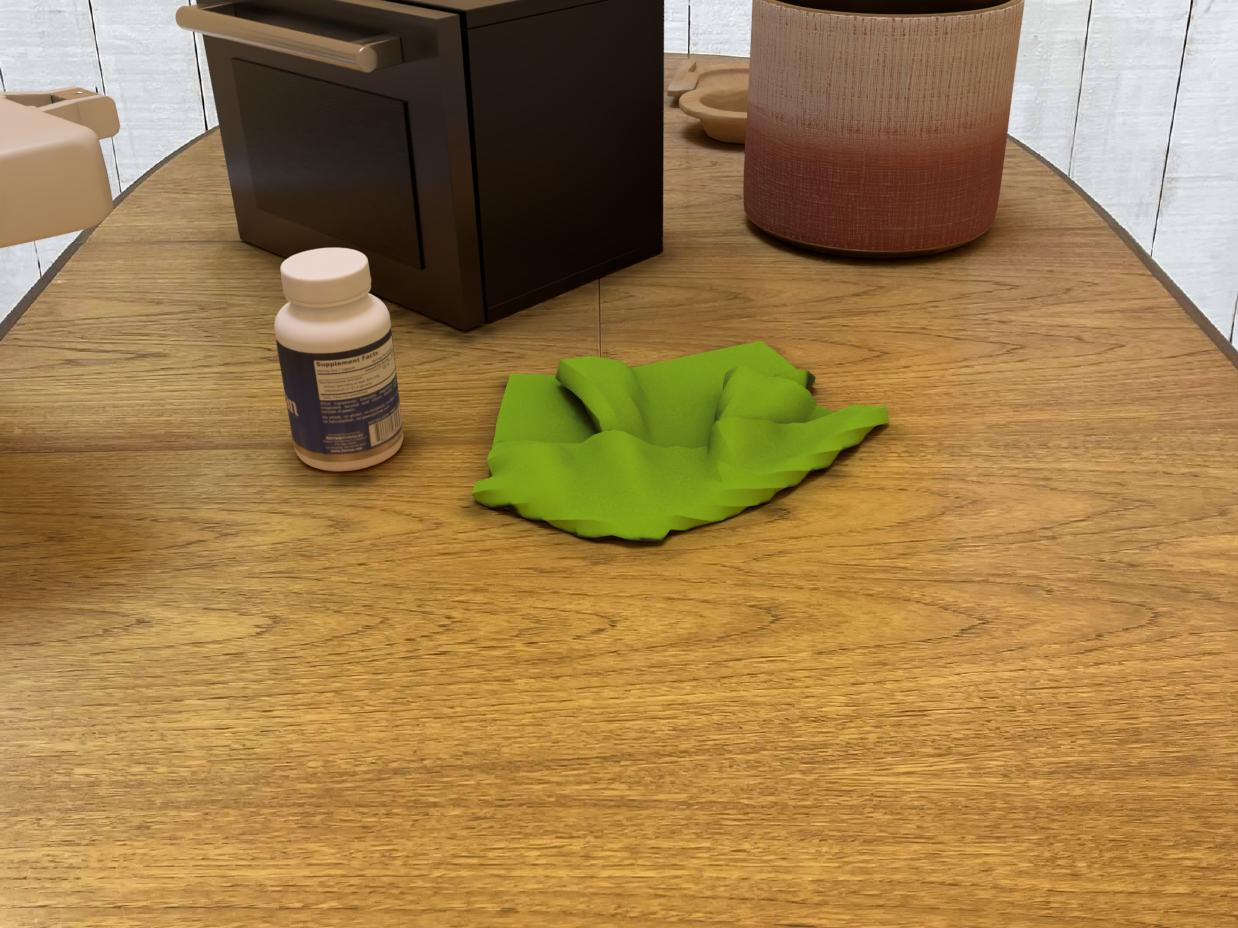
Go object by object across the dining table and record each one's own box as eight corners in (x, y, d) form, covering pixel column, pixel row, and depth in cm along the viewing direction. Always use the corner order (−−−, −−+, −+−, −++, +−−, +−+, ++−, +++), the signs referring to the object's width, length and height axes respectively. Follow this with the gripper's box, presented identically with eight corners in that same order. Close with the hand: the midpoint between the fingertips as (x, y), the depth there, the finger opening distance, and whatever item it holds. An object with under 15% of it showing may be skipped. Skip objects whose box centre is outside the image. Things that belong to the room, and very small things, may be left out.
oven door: (423, 349, 72) (387, 30, 63) (199, 251, 86) (143, -21, 77) (485, 322, 75) (460, 14, 66) (258, 232, 89) (212, -32, 80)
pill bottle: (287, 432, 64) (257, 250, 59) (392, 414, 65) (371, 235, 61) (303, 483, 59) (272, 291, 55) (415, 462, 61) (394, 273, 56)
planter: (1000, 194, 95) (1032, -27, 87) (986, 279, 80) (1022, 22, 72) (769, 175, 100) (779, -36, 92) (716, 252, 85) (722, 9, 77)
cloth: (425, 530, 56) (420, 483, 55) (536, 329, 74) (534, 291, 73) (893, 570, 53) (898, 522, 51) (886, 350, 71) (890, 311, 70)
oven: (488, 323, 75) (466, 10, 66) (262, 234, 90) (218, -35, 80) (663, 251, 85) (665, -29, 76) (435, 181, 100) (413, -63, 91)
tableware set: (449, 163, 104) (445, 114, 102) (473, 79, 129) (470, 38, 127) (871, 153, 104) (875, 104, 102) (812, 72, 130) (815, 31, 128)
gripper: (-167, 147, 40) (215, 70, 49) (-346, 59, 52) (-15, 10, 61) (-107, 329, 43) (242, 226, 52) (-289, 206, 55) (19, 139, 64)
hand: (102, 109), depth 56 cm, fingers closed
